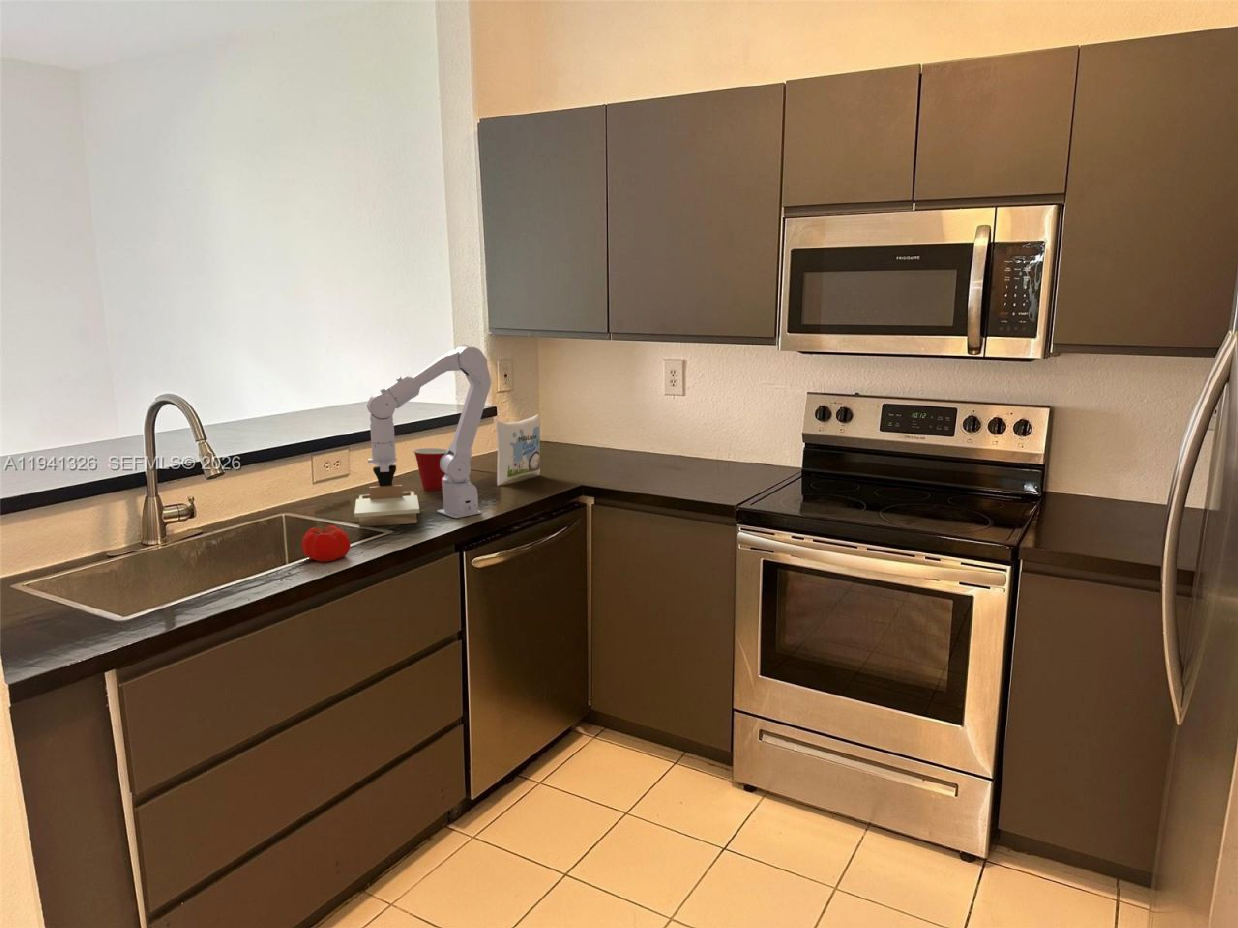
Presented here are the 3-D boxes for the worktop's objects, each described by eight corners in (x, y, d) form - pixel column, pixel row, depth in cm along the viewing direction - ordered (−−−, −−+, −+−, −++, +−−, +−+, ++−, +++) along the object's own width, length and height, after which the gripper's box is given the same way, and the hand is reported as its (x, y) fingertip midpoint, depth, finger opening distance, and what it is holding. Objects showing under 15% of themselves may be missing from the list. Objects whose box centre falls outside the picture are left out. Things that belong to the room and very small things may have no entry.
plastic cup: (459, 486, 258) (457, 447, 256) (434, 494, 249) (432, 453, 247) (432, 483, 264) (430, 444, 262) (407, 490, 255) (404, 450, 252)
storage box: (360, 513, 228) (359, 494, 227) (414, 509, 232) (413, 491, 231) (359, 526, 215) (357, 507, 214) (416, 522, 219) (415, 503, 218)
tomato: (339, 548, 198) (337, 520, 196) (356, 559, 189) (354, 530, 188) (296, 556, 192) (294, 527, 191) (311, 568, 183) (309, 538, 182)
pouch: (488, 484, 262) (485, 419, 258) (532, 473, 276) (530, 412, 272) (506, 488, 257) (504, 421, 253) (550, 477, 271) (549, 414, 267)
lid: (356, 502, 217) (355, 487, 217) (416, 498, 221) (416, 483, 220) (354, 517, 203) (353, 501, 202) (419, 512, 207) (418, 496, 206)
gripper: (367, 437, 223) (370, 488, 226) (366, 447, 209) (369, 501, 212) (395, 436, 225) (398, 487, 228) (396, 445, 211) (399, 499, 214)
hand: (386, 494), depth 220 cm, fingers closed
